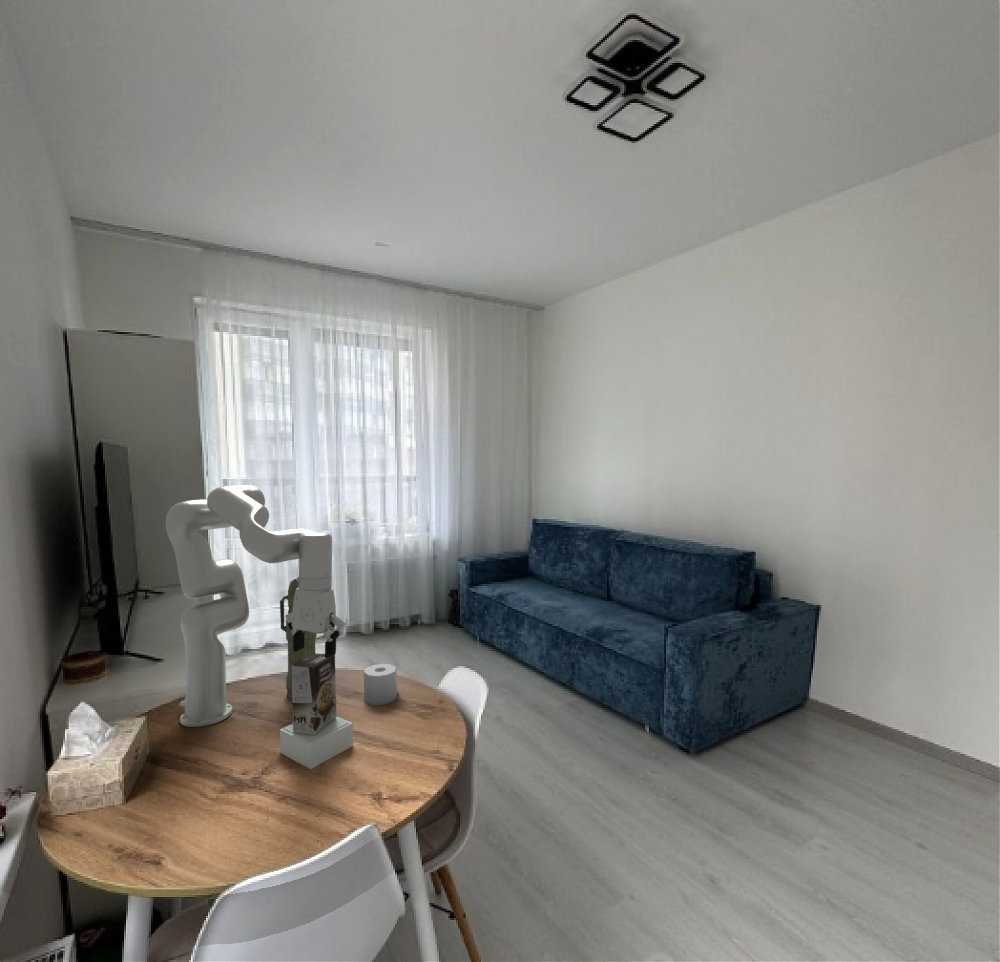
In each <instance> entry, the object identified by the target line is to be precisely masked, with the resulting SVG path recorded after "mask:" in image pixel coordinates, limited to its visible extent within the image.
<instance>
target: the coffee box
mask: <svg viewBox="0 0 1000 962" xmlns="http://www.w3.org/2000/svg"><path fill="white" fill-rule="evenodd" d="M336 683H337V682H336V654H335V655H333V656H331V657H329V658H325V653H316V652H315V653H314V654H312V655H310V656H308V657H307V658H305V659H303V660H301V661H299V662H297V663H296V664H294V665H292V700H291V701H292V703H291V705H292V724H293V732H296V733H303V734H309V735H316V734H317V733H318V732H319V731H321V730H322V729H323V728H324V727H326V726H327V725H328V724H329V723H331V722H332V721H333V720H334V719H336V718H337V717H338V716H337V690H336V689H337V684H336Z"/></svg>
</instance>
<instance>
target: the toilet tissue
mask: <svg viewBox="0 0 1000 962" xmlns="http://www.w3.org/2000/svg"><path fill="white" fill-rule="evenodd" d="M397 673H398V672H397V666H395V665H393V664H391V663H390V664H388V663H379V664H378V663H377V664H373V665H372V664H371V666H369V667H366V668H365V669H364V672H363V701H364V702H365V703H366V704H368V705H370V706H371V705H372V706H382V705H388V704H391V703H392V702H394V701H396V700H397V699H396V698H397V694H398V692H399V690H398V674H397Z"/></svg>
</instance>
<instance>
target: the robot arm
mask: <svg viewBox="0 0 1000 962" xmlns="http://www.w3.org/2000/svg"><path fill="white" fill-rule="evenodd" d="M265 505H266V498H265V495H264V493H263V492H262V491H261V489H260V488H258V487H257V486H254V485H225V486H219V487H216V488H215V489H213V490H212V491H211V492H210V493H209V494H208V495H207V497H206V499H191V500H190V499H189V500H185V501H184V500H183V501H181V502H178V503H176V504H173V506H171V507H170V509H169V510H168V512H167V514H166V517H165V529H166V534H167V536H168V538H169V541H170V544H171V546H172V547H173V550H174V554H175V559H176V560H175V561H176V566H177V571H178V577H179V583H180V587H181V591H182V593H183V595H184V596H185V597H186V598H187V599H189V600H190V599H192V600H195V599H196V600H197V599H202V598H207V597H210V596H211V597H212V596H215V595H219V597H220V598H217V599H211V600H208V601H204V602H201V603H200V602H199V603H197V604H195V605H191V606H190V607H189V608H187V609H186V610H185V611H184V612H183V613H182V615H181V618H180V627H181V631H182V635H183V641H184V647H185V649H184V651H185V684H186V685H185V686H186V687H185V689H186V690H185V691H186V692H185V697H184V698H183V699H184V700H181V701H180V703H179V706H181V707H184V712H183V713H182V714H181V715H180V717H179V722H180V723H179V724H180V725H182V726H184V727H187V728H188V727H189V728H199V727H207V726H210V725H213V724H217V723H219V722H222V721H224V720H225V719H227V718H228V717H230V716H231V715H232V713H233V706H232V704H230V703H228V702H227V675H226V674H227V672H226V671H227V667H226V666H227V664H226V663H227V662H226V661H227V659H226V658H227V657H226V648H225V646H224V645H223V643H222V642H221V640H219V638H218V635H221V634H223V633H226V632H229V631H232V630H236V629H239V628H240V627H242V626H244V625H245V624H246V623H247V622H248V619H249V616H250V607H249V601H248V595H247V594H248V593H247V590H246V589H247V588H246V585H245V584H246V583H245V578H244V574H243V571H242V568H241V567H240V566H239V564H238V563H237V562H236V561H234V560H232V559H229V558H228V559H225V558H224V559H218V560H214V558H213V555H212V549H211V546H210V544H209V542H208V541H207V539H206V538H205V537H204V536H203V535H201V534H200V533H199V532H200V531H205V530H214V529H216V530H217V529H225V528H231V527H233V528H234V529H235V530H237V531H239V538H240V542H241V544H242V547H243V548H244V549H245V551H247V552H248V553H249V554H251V555H252V556H254V557H255V558H257V559H258V560H260V561H262V562H264V563H268V564H278V563H283V562H287V561H293V560H298V576H297V578H296V579H297V581H298V582H299V588H297V589H296V592H295V596H294V601H293V609H292V612H291V613H289V614H288V613H287V614H285V615H284V618H285V619H286V620H287V622H288V627H289V628H290V630H291V634H292V635H293V651H295V652H296V651H298V650H300V649H303V648H304V637H305V634H304V632H302V631H306V632H311V633H317V635H320V634H323V636H324V637H325V639H326V641H325V642H324V654H325V658H329V657H331V656H333V655H335V656H336V654H337V639H339V638H340V636H341V635H342V633H343V631H344V629H345V627H346V623H345V621H343V620H342V619H341V618H340V617H338V616H337V610H336V608H337V607H336V605H337V604H336V598H335V591H334V589H333V588H332V585H333V584H332V581H333V580H332V578H333V577H332V573H333V572H332V571H333V537H332V535H331V534H330V533H328V532H324V531H313V530H310V529H307V528H302V527H301V528H293V529H282V530H275V531H270V530H268V529H266V528H265V527H266V526H267V524H268V522H269V519H270V511H269V510H268V507H266V506H265ZM286 620H285V621H286ZM335 627H336V628H335Z"/></svg>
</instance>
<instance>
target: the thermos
mask: <svg viewBox="0 0 1000 962" xmlns="http://www.w3.org/2000/svg"><path fill="white" fill-rule="evenodd" d="M287 588H288V589H287V595H284V596H283V597H282V598H281V599H280V601H279V614H280V629H281V630H282V631H283V632H284V633H285V639H286V641H287V673H286V678H285V681H286V682H285V683H286V685H285V686H286V687H285V689H286V698H287V699H288V700H291V701H292V665H294V664H296V663H297V662H299V661H301V660H303V659H305V658H307V657H308V656H310V655H312V654H314V653H316V638H317V636H318V634H317V633H311V632H306V631H302V632H304V634H305V637H304V648H303V649H300V650H298V651H296V652H295V651H293V635H292V634H291V630H290V628H289V627H288V622H287V620H285V600H287V607H288V610H287V614H289V613H291V612H292V609H293V601H294V596H295V592H296V589H297V588H299V582H298V581H297V578H294V579H292V580H291V581H290V582H289V584H288V587H287Z"/></svg>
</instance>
